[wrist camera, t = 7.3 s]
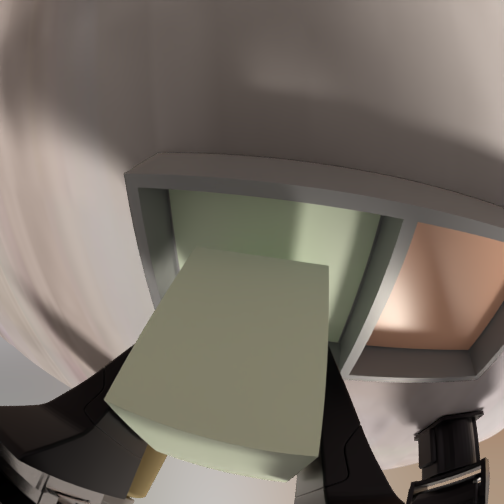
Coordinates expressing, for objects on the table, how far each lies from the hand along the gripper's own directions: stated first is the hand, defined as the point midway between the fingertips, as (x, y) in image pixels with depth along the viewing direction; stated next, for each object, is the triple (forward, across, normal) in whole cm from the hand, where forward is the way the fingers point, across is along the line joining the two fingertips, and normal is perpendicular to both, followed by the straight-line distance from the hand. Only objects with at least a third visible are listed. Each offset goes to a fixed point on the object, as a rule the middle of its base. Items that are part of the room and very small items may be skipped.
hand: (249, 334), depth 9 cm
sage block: (+2, 0, 0) cm, 2 cm away
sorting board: (+4, -4, 0) cm, 6 cm away
